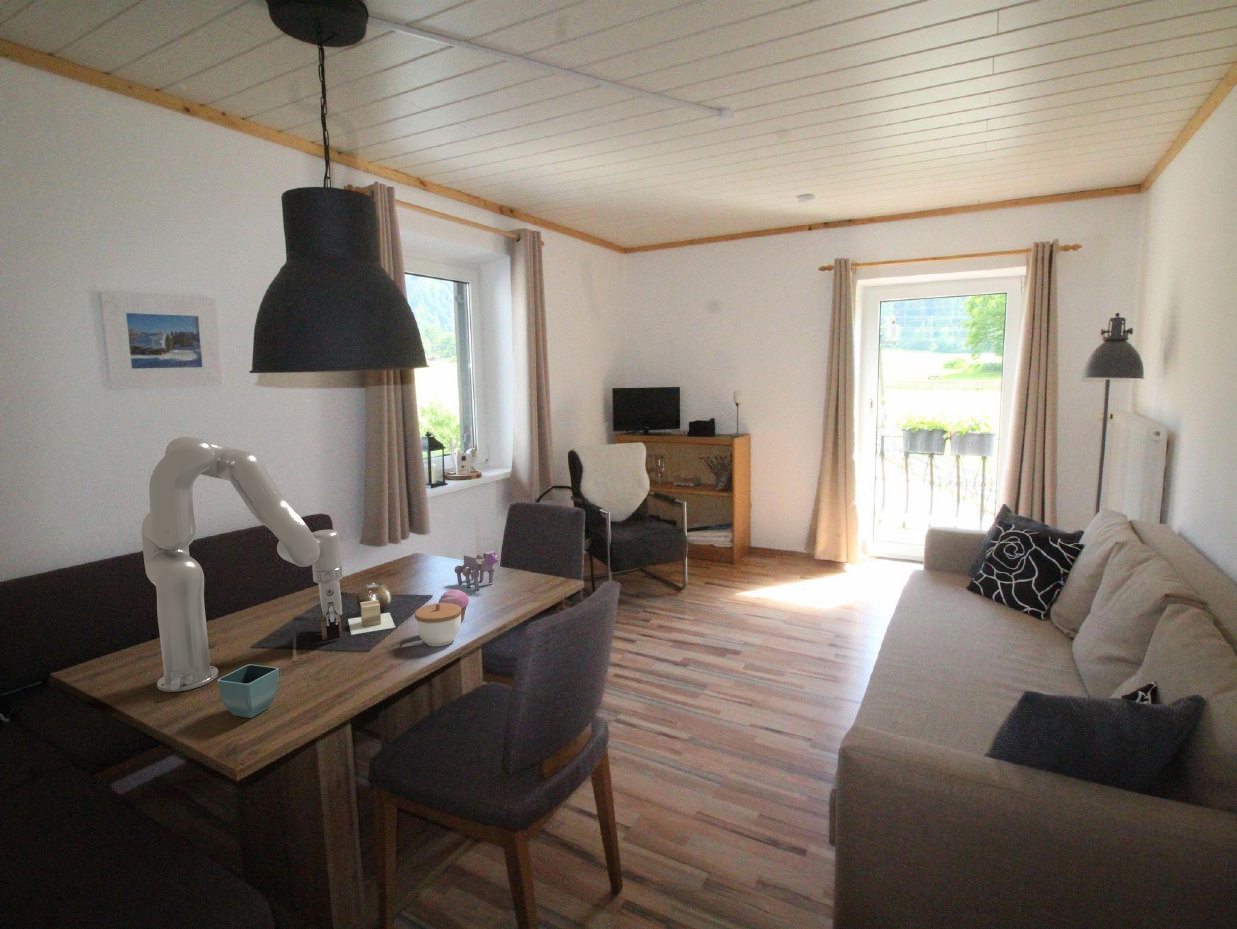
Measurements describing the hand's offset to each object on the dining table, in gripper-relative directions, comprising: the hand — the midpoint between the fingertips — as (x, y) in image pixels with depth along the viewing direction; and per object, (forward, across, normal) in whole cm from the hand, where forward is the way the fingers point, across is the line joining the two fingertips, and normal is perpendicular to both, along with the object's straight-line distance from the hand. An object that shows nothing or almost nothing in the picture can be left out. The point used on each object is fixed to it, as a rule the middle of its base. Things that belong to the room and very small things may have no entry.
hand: (332, 632), depth 186 cm
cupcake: (+3, -3, -34) cm, 34 cm away
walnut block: (+2, 0, 0) cm, 2 cm away
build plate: (+2, +5, -11) cm, 12 cm away
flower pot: (+2, -37, +18) cm, 41 cm away
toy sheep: (+3, +28, -50) cm, 57 cm away
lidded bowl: (+2, -16, -27) cm, 31 cm away
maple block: (+1, +5, -11) cm, 12 cm away
